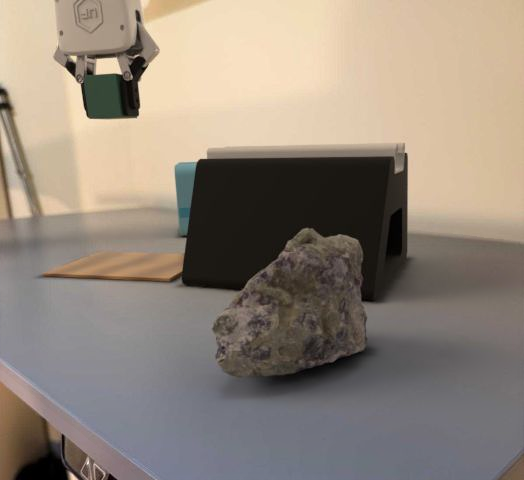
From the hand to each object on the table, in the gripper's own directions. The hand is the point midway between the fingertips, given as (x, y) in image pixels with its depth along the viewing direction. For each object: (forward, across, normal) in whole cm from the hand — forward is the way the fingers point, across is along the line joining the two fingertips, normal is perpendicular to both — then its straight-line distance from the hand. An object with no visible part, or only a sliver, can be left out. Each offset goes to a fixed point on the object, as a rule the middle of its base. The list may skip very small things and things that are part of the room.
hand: (113, 115), depth 71 cm
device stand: (+19, +26, -3) cm, 32 cm away
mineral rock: (+20, +31, -32) cm, 48 cm away
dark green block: (0, 0, 0) cm, 0 cm away
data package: (+19, 0, +25) cm, 31 cm away
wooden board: (+19, +2, -3) cm, 20 cm away
